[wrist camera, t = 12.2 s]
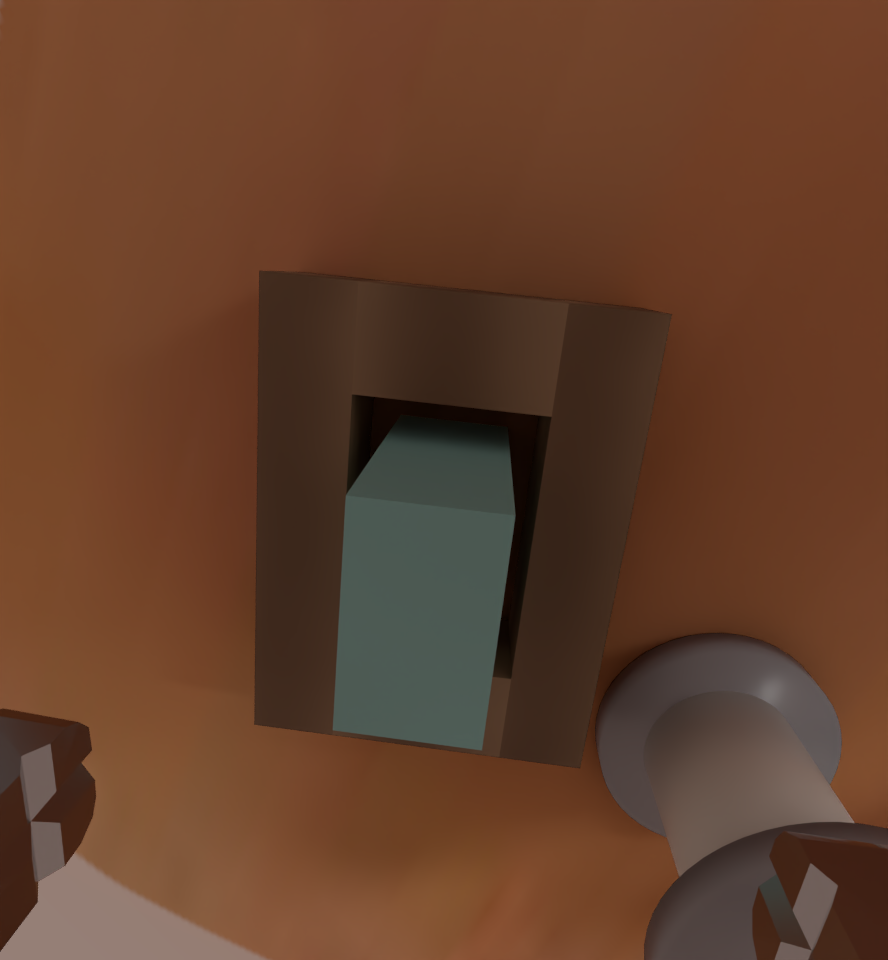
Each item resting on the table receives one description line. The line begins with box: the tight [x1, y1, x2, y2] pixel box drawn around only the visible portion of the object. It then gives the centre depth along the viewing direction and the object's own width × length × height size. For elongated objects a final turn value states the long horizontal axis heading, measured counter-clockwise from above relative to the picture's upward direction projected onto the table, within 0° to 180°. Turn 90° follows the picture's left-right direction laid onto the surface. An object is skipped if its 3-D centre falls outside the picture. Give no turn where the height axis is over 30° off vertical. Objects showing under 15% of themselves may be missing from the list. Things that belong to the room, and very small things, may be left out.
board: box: [254, 271, 672, 768], centre depth 17 cm, size 9×12×3 cm
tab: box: [333, 415, 516, 750], centre depth 15 cm, size 3×5×7 cm, turn 174°
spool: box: [595, 633, 888, 960], centre depth 16 cm, size 7×7×8 cm
